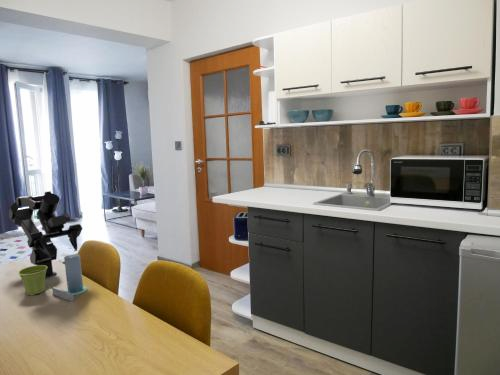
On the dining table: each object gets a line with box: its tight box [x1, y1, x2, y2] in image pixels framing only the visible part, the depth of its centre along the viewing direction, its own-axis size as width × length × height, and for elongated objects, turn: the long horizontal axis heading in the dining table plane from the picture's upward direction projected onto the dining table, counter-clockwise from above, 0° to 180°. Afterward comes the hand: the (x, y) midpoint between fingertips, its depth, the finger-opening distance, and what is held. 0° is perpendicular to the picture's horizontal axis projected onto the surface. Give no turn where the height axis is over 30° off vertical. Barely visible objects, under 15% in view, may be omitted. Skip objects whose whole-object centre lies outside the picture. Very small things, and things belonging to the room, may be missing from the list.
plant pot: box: [17, 265, 47, 296], centre depth 139 cm, size 9×9×9 cm
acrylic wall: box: [51, 286, 75, 302], centre depth 134 cm, size 12×1×2 cm, turn 56°
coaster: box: [64, 285, 88, 296], centre depth 139 cm, size 8×8×1 cm
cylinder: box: [63, 253, 84, 293], centre depth 139 cm, size 5×5×13 cm
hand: (64, 252), depth 141 cm, fingers open, 9 cm apart
